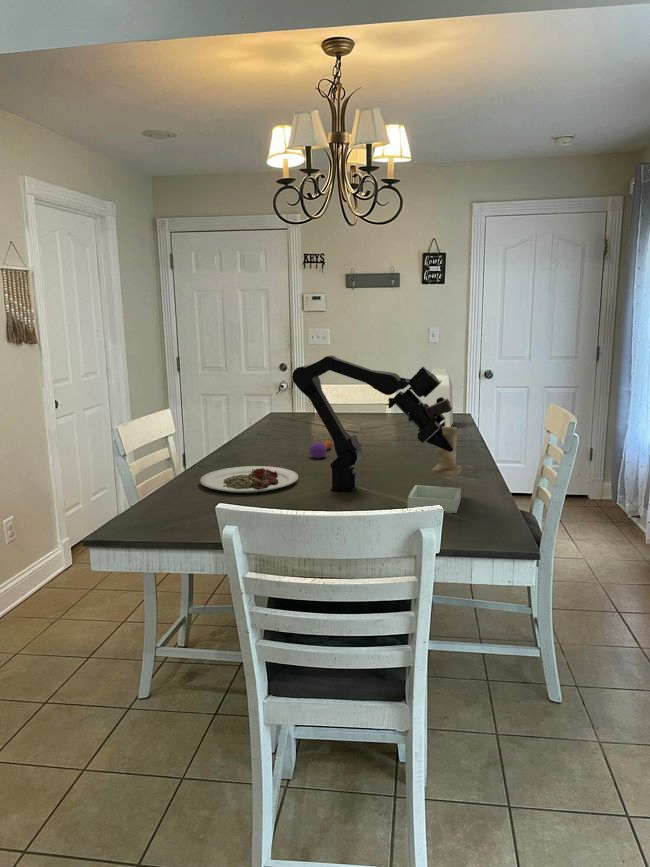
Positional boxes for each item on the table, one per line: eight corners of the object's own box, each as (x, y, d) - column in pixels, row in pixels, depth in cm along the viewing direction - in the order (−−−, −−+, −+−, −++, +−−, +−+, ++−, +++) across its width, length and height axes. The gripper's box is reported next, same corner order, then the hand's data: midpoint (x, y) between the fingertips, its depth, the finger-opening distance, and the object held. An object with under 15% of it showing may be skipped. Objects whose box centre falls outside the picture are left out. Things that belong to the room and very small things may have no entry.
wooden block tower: (432, 473, 182) (433, 429, 179) (437, 468, 188) (438, 425, 186) (457, 475, 179) (458, 430, 177) (461, 470, 185) (463, 426, 183)
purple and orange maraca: (337, 438, 250) (326, 445, 230) (334, 453, 250) (322, 461, 231) (322, 435, 251) (309, 441, 231) (319, 450, 252) (306, 457, 232)
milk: (452, 424, 300) (454, 368, 295) (449, 429, 289) (451, 370, 284) (426, 423, 304) (427, 367, 299) (422, 427, 293) (423, 370, 288)
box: (407, 510, 171) (407, 497, 171) (414, 497, 183) (415, 485, 183) (456, 513, 168) (456, 500, 167) (460, 500, 180) (460, 488, 179)
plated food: (186, 495, 189) (185, 483, 188) (217, 470, 218) (216, 460, 217) (288, 498, 185) (288, 486, 184) (305, 472, 214) (305, 462, 213)
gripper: (431, 392, 171) (472, 436, 171) (438, 385, 189) (476, 424, 188) (400, 421, 175) (441, 463, 174) (410, 411, 193) (447, 449, 192)
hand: (452, 449), depth 182 cm, fingers closed on wooden block tower, 4 cm apart
